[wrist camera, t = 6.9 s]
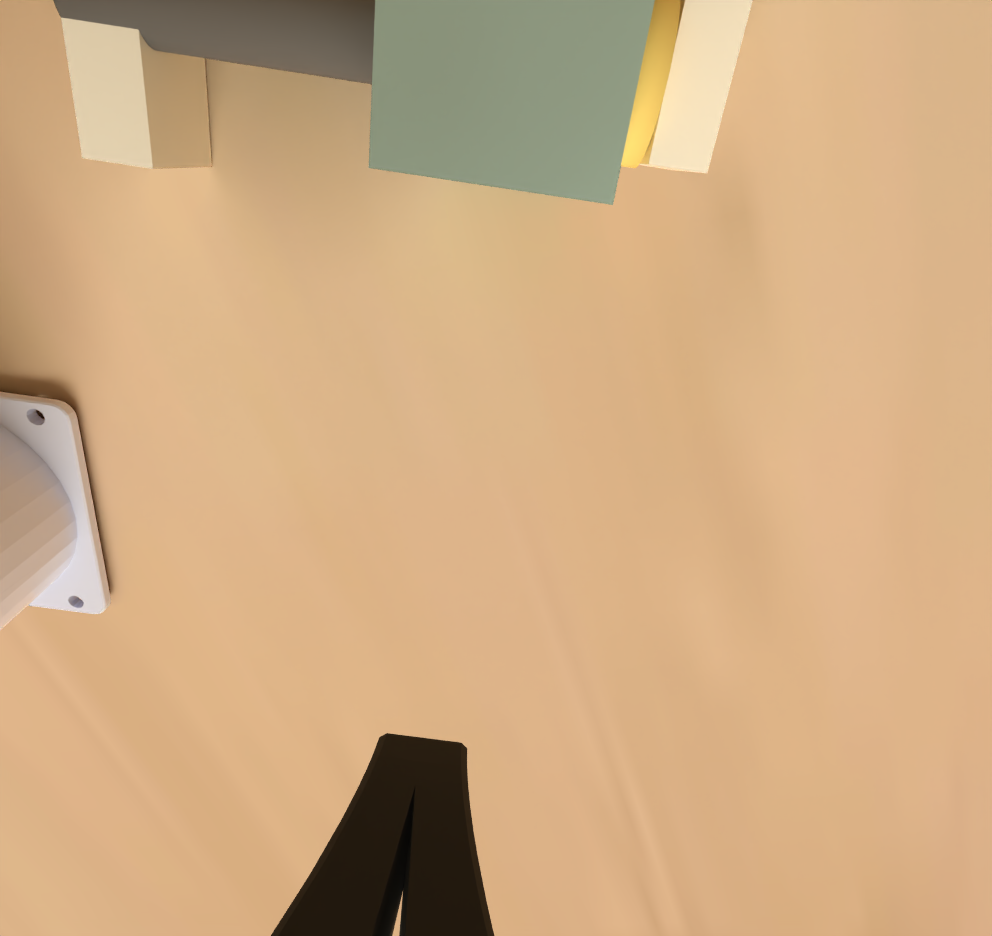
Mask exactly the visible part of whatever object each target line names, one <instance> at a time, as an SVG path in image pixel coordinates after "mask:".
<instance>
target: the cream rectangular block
mask: <svg viewBox="0 0 992 936" xmlns="http://www.w3.org/2000/svg"><path fill="white" fill-rule="evenodd" d="M61 21H62V27H63V34H64V41H65V47H66V54H67V60H68V67H69V74H70V80H71V87H72V94H73V100H74V107H75V114H76V120H77V127H78V134H79V140H80V147H81V154H82V158H84V159H91V160H97V161H104V162H111V163H117V164H124V165H131V166H137V167H144V168H151V169H163V168H193V167H212V160H211V145H210V130H209V114H208V99H207V84H206V68H205V58H200V57H193V56H187V55H180V54H174V53H167V52H161V51H156V50H153V49H152V48H151V47H150V46H149V45H148V44H147V43H146V42H145V40H144V39H143V37H142V36H141V34H140V32H139V30H138V29H132V28H126V27H119V26H113V25H106V24H100V23H94V22H87V21H81V20H74V19H68V18H61Z"/></svg>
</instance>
